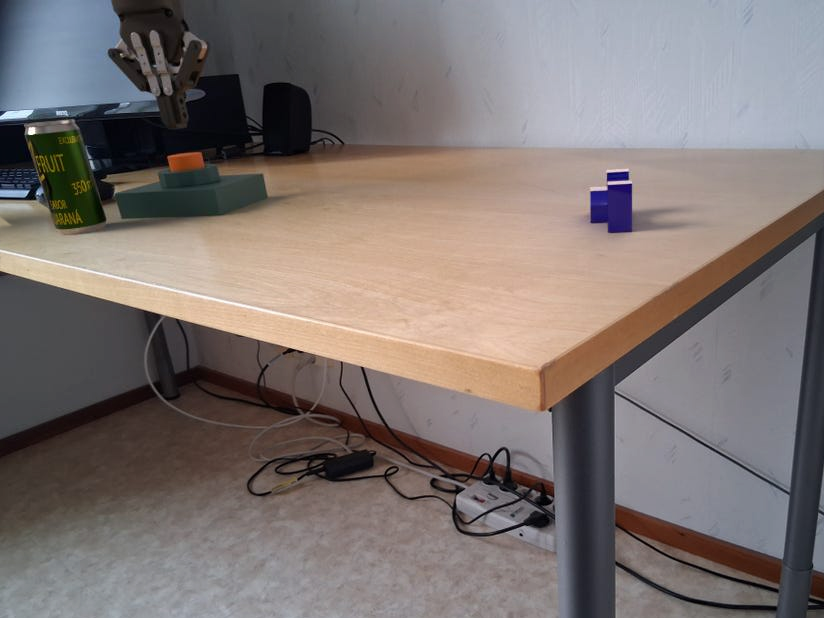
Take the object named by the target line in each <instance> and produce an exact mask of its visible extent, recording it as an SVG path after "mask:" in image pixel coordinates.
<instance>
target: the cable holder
mask: <svg viewBox="0 0 824 618" xmlns="http://www.w3.org/2000/svg"><path fill="white" fill-rule="evenodd" d="M605 173H606V185H605V186H603V185H602V186H590V188H589V190H590V191H589V193H590V194H589V196H590V197H589V201H590V202H589V203H590V204H589V205H590V207H589V210H590V211H589V213H590V216H589V217H590V224H595V223H607V233H624V232H625V233H626V232H633V182H632V180H630V170H629V168H616V169H606V172H605Z"/></svg>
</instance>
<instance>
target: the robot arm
mask: <svg viewBox="0 0 824 618" xmlns="http://www.w3.org/2000/svg"><path fill="white" fill-rule="evenodd" d="M110 2H111V6H112V10H113V12H114V14H116V16H117V17H118V19H119V30H118V31H119V33H118V34H119V36H120V40H119V42H118V43H117V45H116V46H115V47H113V48H111V47H110V48H108V49H107V56H108V57H109V59H110V60H112V62H113V63H114V64H115V65H116V66H117V68H118V69H119V70H120V71H121V72H122V73H123V74H124V75H125V76H126V77H127V79H128V80H130V83H132V84H133V85H134V86H135V87H136V88H137V90H138V91H140V92H144V93H145V92H146V93H149V94H152V95H153V96H154V97H155V99H156V103H157V107H158V111H159V115H160V119H161V122H162V124H163V125H165V128H166V129H167V130H179V129H186V128H187V127H188V123H189V120H190V116H189V113H188V108H187V104H186V99H185V93H186V92H187V91H188V90H190V89H192V88H196V87H197V84H198V82H199V80H200V77H201V74H202V72H203V69H204V66H205V64H206V62H207V59H208V56H209V54H210V52H211V48H212V46H211V43H210V42H209V40H206V39H200V38H198V37H197V36H196V35H194V34H193V33H192V32H191V29H190V26H189V24H188V22H187V21H186V19H185V17H184V12H183V11H184V9H185V6H184V1H183V0H110ZM169 64H170V65H169Z"/></svg>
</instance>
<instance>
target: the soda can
mask: <svg viewBox="0 0 824 618" xmlns="http://www.w3.org/2000/svg"><path fill="white" fill-rule="evenodd" d="M23 126H24V128H25V131H24V138H25V140H26V143H27V146H28V150H29V153H30V155H31V158H32V162H33V164H34V168H35V170H36V173H37V178H38V180H39V183H40V186H41V189H42V192H43V195H44V198H45V201H46V204H47V207H48V210H49V214H50V216H51V219H52V223H53V225H54V229H55V230H56V231H57V232H58V233H59V234H60V235H62V236H71V235H80V234H81V235H82V234H88V233H92V232H97V231H99V230H103V229H105V228H106V227H107V222H108V218H107V215H106V212H105V209H104V205H103V202H102V199H101V195H100V192H99V189H98V185H97V181H96V179H95V175H94V172H93V168H92V165H91V161H90V158H89V155H88V152H87V149H86V145H85V141H84V138H83V135H82V131H81V128H80V127H79V125H77V123H76V119H74V118H73V119H60V120H49V121H39V122H31V123H25V124H23Z"/></svg>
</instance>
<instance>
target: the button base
mask: <svg viewBox="0 0 824 618" xmlns="http://www.w3.org/2000/svg"><path fill="white" fill-rule="evenodd" d="M204 166H205V167H203V168H199V169H193V170H185V171H171V170H170V167H169V168H166V169H165V168H164V169H161V170H159V171H158V172H157V176H158V180H159V181H155V182H151V183H147V184H144V185H140V186H136V187H133V188H129V189H125V190H121V191H118V192H117V191H116V192H114V197H115V201H116V205H117V208H118V212H119V215H120V218H121V220H132V219H133V220H134V219H160V218H161V219H163V218H165V219H166V218H167V219H168V218H188V217H189V218H190V217H191V218H192V217H193V218H195V217H220V216H224V215H226V214H229V213H232V212H235V211H237V210H240V209H242V208H244V207H247V206H249V205H252V204H255V203H258V202H260V201H263V200H265V199H268V198H269V197H268V191H267V186H266V181H265V177H264V173H262V172H261V173H244V174H224V175H223V174H221V175H220V171H219V166H218V164H216V163H204Z"/></svg>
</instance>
